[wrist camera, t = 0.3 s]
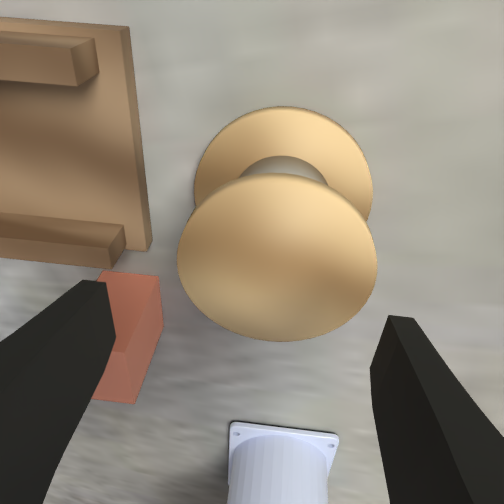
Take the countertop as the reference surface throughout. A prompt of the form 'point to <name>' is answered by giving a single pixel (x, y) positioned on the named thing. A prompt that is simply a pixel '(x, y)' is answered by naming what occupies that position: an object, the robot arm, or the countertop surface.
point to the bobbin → (280, 227)
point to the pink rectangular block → (130, 334)
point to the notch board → (70, 144)
